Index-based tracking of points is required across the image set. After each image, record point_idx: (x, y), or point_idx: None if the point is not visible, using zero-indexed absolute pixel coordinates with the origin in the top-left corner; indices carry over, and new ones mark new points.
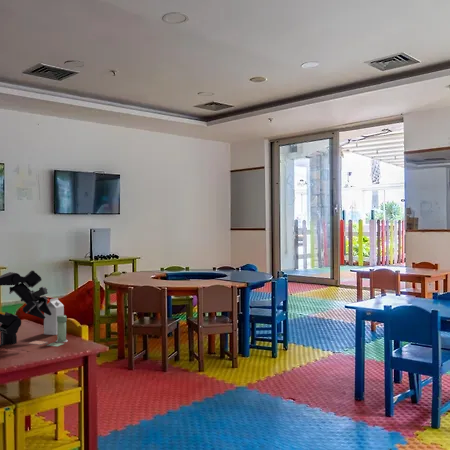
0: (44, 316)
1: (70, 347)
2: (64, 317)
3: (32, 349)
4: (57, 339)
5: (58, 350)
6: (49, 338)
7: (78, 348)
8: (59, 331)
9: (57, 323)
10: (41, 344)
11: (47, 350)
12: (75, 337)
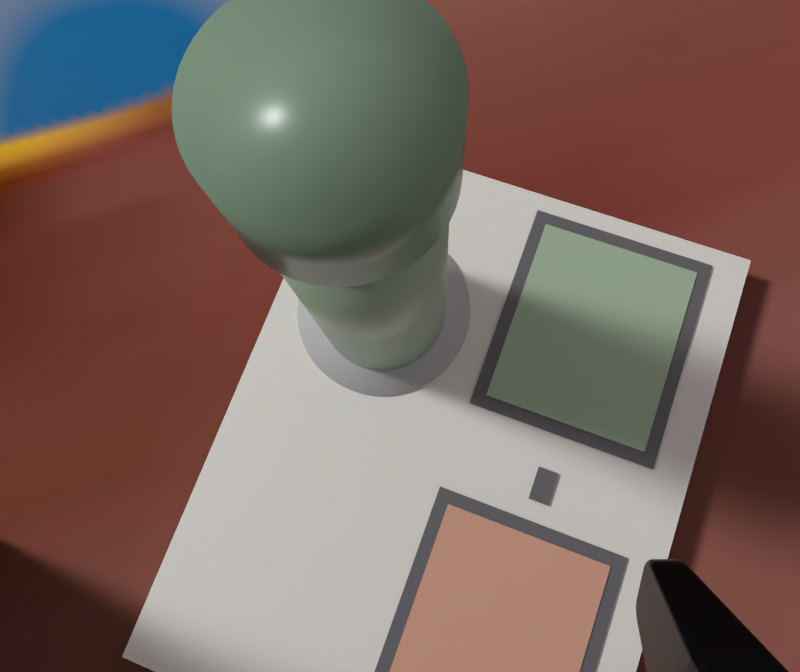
0: (686, 593)
1: (605, 137)
2: (412, 6)
3: (767, 631)
4: (417, 353)
5: (776, 235)
6: (62, 607)
7: (648, 31)
8: (445, 272)
9: (394, 277)
10: (606, 548)
11: (795, 382)
12: (42, 239)
